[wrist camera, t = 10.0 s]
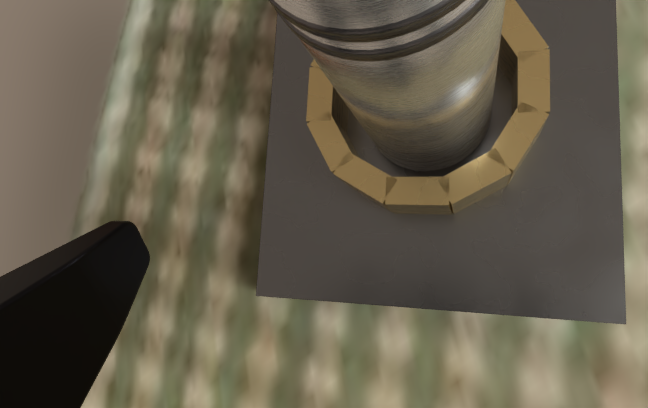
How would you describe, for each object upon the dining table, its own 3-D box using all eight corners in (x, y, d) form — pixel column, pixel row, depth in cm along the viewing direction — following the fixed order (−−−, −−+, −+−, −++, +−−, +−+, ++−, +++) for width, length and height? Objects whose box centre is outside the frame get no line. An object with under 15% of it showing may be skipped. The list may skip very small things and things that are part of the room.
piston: (517, 134, 18) (603, -129, 6) (398, 194, 19) (286, 62, 7) (454, 30, 20) (432, -342, 8) (347, 92, 21) (182, -156, 9)
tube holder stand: (613, 320, 18) (652, 331, 14) (269, 294, 22) (228, 297, 18) (602, -67, 20) (633, -147, 16) (292, -24, 24) (260, -81, 20)
